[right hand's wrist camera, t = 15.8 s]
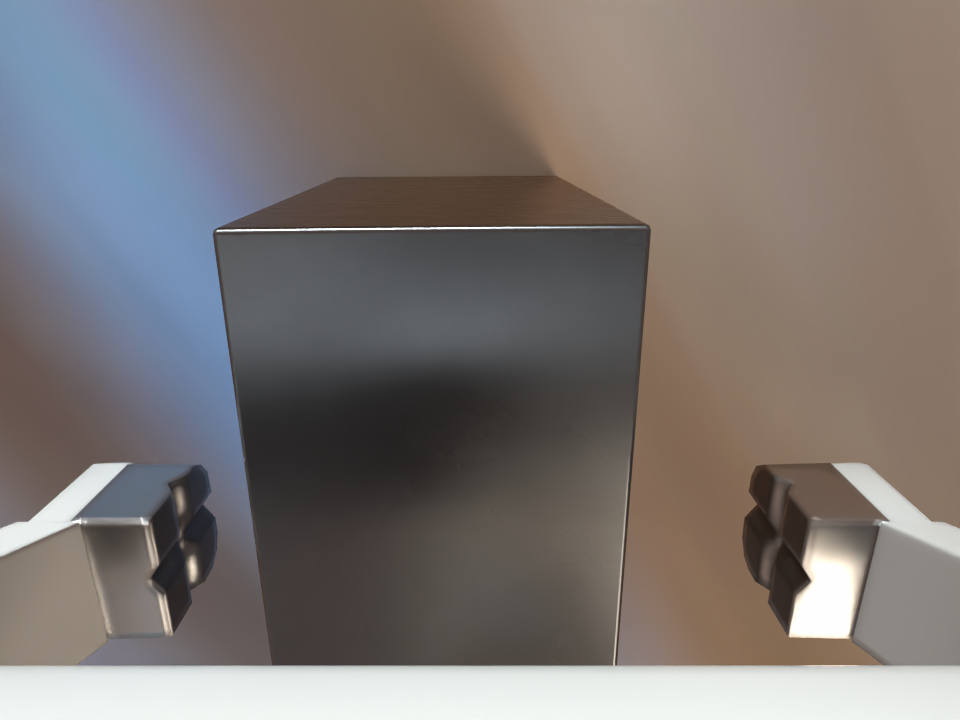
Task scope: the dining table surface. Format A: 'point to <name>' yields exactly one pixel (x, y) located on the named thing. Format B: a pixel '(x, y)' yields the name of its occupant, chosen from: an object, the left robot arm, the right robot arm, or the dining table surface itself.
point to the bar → (438, 417)
